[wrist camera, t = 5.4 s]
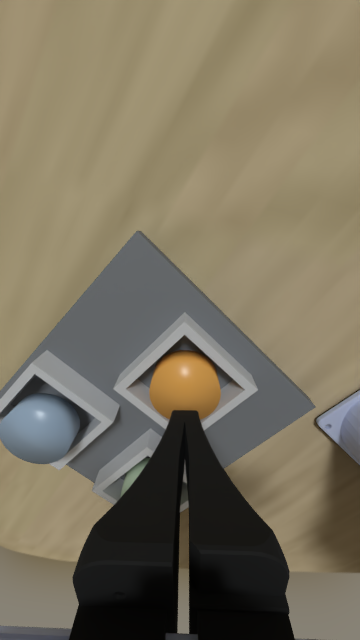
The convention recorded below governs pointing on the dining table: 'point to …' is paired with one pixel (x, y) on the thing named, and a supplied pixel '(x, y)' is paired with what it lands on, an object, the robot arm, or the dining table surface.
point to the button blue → (40, 428)
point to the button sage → (133, 474)
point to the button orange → (185, 384)
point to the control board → (149, 370)
